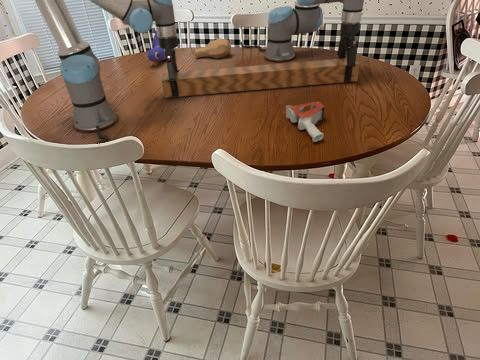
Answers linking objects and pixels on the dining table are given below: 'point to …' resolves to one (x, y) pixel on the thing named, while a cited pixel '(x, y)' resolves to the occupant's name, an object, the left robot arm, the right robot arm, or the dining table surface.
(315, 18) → the right robot arm
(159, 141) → the dining table surface
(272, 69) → the thick board
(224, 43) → the squash
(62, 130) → the dining table surface
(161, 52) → the toy
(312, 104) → the tape dispenser
